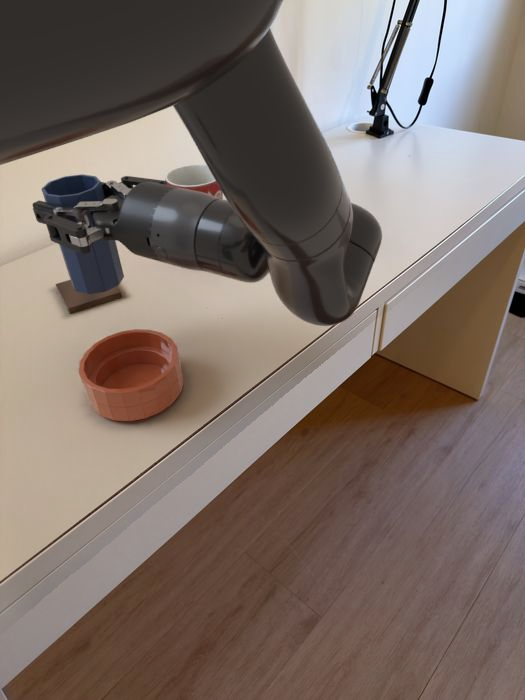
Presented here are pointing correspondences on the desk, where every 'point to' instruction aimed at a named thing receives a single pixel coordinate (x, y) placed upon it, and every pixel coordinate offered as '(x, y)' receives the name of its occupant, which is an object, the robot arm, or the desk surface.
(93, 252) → the tumbler
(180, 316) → the desk surface
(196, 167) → the mug
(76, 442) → the desk surface
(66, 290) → the coaster
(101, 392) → the bowl
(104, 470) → the desk surface
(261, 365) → the desk surface
